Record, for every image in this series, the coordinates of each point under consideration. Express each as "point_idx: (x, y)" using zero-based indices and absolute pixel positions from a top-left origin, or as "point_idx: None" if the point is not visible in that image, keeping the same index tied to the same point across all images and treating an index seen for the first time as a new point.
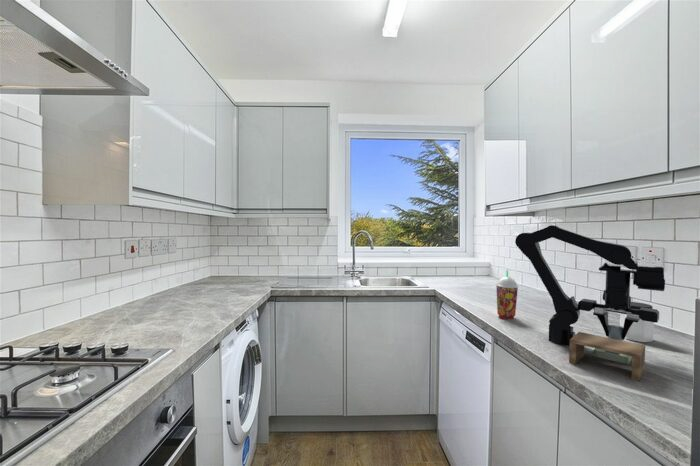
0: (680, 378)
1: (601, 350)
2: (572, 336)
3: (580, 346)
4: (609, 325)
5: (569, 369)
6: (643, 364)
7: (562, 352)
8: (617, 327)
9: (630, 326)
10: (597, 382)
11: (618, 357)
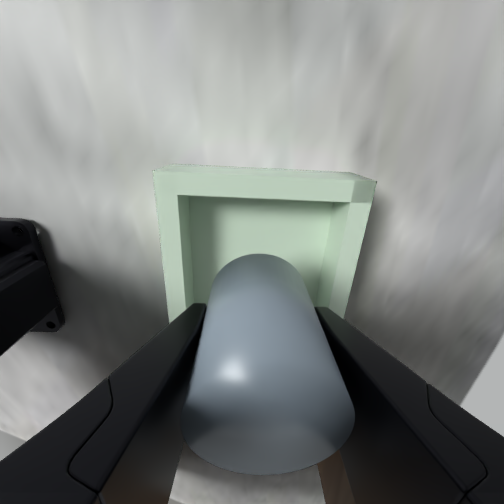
0: (474, 350)
1: (192, 277)
2: (5, 351)
3: None
4: (189, 430)
5: None
6: None
7: (73, 374)
8: (288, 450)
9: (475, 434)
10: (244, 499)
11: None
